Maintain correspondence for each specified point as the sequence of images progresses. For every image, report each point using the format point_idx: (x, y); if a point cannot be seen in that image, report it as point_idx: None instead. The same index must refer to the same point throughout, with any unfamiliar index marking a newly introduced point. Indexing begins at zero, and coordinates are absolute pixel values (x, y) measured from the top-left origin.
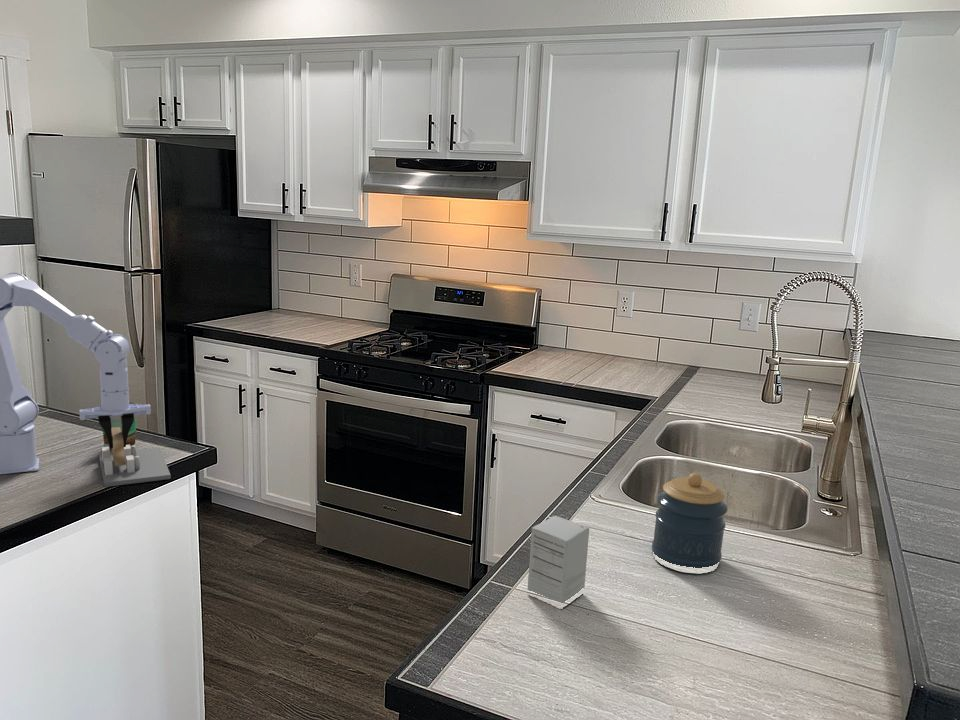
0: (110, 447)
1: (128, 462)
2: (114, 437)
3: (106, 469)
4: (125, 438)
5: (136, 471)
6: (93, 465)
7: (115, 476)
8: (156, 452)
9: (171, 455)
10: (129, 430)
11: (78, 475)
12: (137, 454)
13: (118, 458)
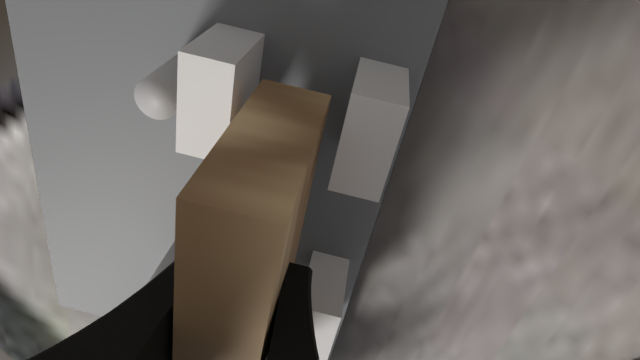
0: (307, 270)
1: (231, 56)
2: (255, 301)
3: (399, 80)
4: (161, 283)
5: (206, 25)
6: (382, 294)
7: (358, 1)
8: (73, 258)
9: (16, 219)
10: (75, 334)
11: (507, 213)
12: None
13: (291, 113)
